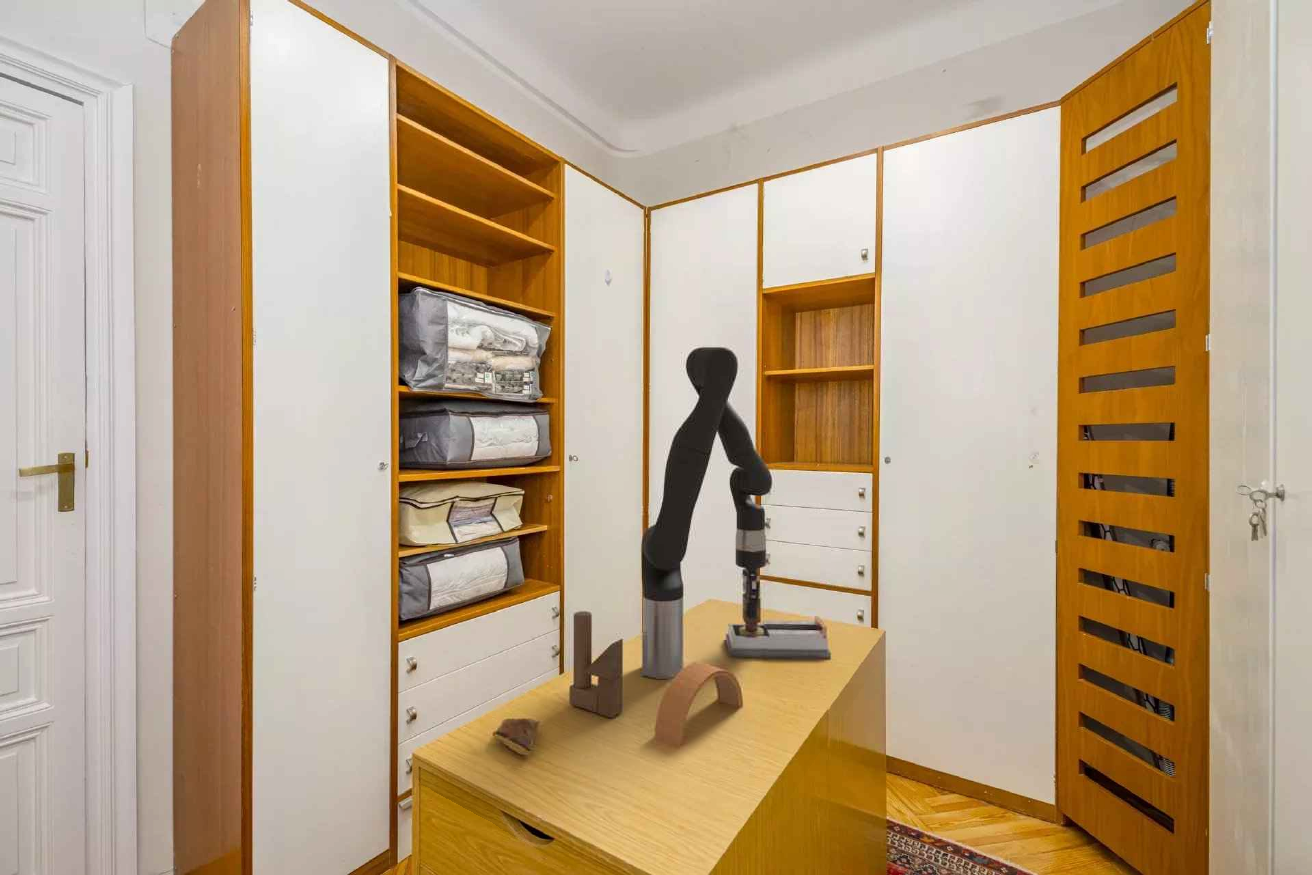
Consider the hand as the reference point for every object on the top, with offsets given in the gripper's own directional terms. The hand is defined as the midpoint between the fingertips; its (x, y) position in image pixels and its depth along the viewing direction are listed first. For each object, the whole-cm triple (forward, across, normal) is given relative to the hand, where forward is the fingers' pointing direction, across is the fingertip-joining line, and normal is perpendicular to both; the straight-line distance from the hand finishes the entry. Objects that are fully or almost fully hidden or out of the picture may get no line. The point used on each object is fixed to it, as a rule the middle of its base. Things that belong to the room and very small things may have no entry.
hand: (750, 614), depth 145 cm
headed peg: (+5, 0, 0) cm, 5 cm away
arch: (+9, +37, -14) cm, 40 cm away
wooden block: (+9, +33, -34) cm, 48 cm away
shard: (+10, +48, -41) cm, 64 cm away
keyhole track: (+9, 0, +6) cm, 11 cm away
